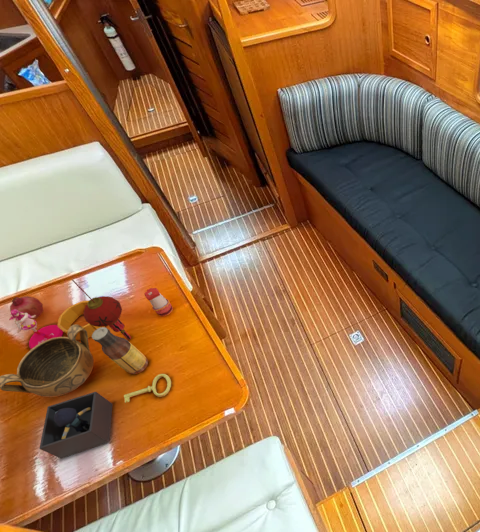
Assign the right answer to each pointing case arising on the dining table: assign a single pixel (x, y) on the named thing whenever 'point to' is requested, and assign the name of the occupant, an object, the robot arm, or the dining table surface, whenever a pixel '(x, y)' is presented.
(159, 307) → the toy
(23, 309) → the fruit
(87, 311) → the lantern
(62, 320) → the toy bowl
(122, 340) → the sauce bottle
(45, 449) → the bin
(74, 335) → the ceramic bowl
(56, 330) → the figurine
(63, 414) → the character figure
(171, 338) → the dining table surface
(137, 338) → the dining table surface
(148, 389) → the key
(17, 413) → the dining table surface
